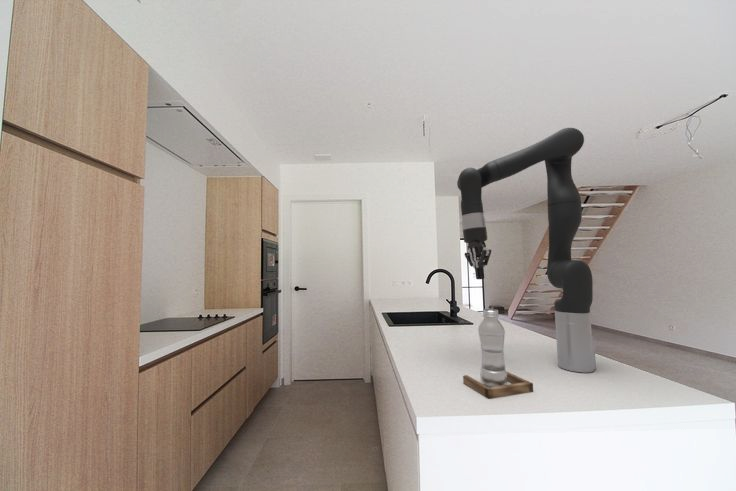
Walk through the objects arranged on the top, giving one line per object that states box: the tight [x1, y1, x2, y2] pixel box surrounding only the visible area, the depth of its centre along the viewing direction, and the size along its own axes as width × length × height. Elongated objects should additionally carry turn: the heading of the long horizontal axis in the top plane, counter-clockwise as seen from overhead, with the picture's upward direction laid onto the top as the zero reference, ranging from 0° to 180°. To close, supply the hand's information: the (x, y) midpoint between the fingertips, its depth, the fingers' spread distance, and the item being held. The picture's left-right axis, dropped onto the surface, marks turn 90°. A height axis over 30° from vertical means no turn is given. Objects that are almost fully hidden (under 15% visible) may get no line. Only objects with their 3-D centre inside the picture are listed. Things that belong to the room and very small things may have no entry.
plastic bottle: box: [477, 308, 508, 388], centre depth 79 cm, size 6×7×20 cm
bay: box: [462, 370, 534, 399], centre depth 78 cm, size 13×10×2 cm
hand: (480, 279), depth 100 cm, fingers closed
